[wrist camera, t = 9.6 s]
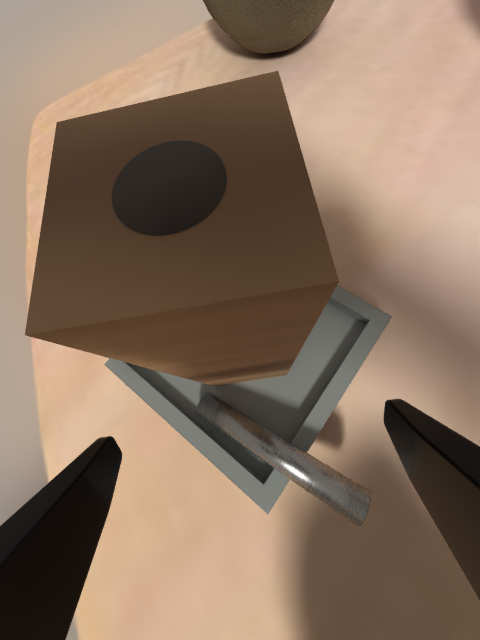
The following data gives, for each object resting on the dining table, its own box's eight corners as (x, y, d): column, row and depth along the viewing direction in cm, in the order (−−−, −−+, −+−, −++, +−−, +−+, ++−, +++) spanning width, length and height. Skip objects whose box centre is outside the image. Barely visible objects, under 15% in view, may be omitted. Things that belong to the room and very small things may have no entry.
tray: (268, 504, 15) (268, 514, 14) (116, 367, 19) (104, 364, 18) (382, 323, 18) (391, 316, 16) (227, 234, 22) (224, 222, 20)
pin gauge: (360, 500, 13) (372, 485, 12) (354, 531, 12) (367, 517, 11) (210, 403, 17) (212, 387, 16) (195, 420, 16) (195, 403, 15)
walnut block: (286, 375, 17) (338, 281, 4) (213, 386, 17) (23, 334, 4) (273, 306, 19) (278, 69, 5) (207, 317, 19) (56, 121, 6)
